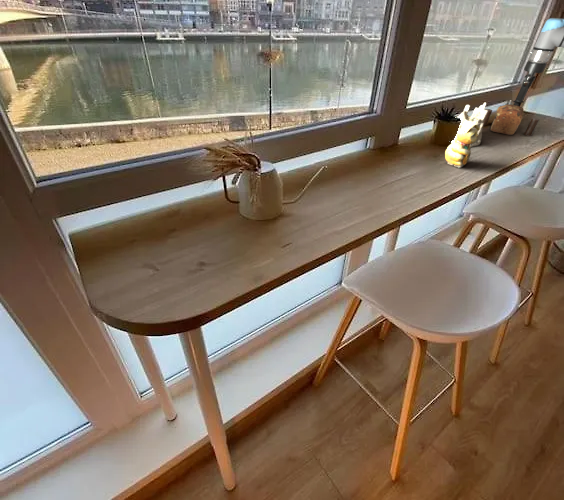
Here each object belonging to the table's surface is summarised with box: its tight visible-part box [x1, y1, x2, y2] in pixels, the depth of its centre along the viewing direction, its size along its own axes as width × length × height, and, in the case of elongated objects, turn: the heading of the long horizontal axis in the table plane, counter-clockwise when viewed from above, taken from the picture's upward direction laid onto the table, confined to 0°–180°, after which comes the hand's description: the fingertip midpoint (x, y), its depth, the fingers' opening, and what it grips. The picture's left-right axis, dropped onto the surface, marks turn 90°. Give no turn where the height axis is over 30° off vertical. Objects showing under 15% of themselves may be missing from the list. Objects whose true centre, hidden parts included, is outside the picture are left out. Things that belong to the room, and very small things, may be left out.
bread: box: [490, 103, 525, 136], centre depth 149 cm, size 19×11×10 cm, turn 147°
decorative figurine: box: [444, 121, 480, 169], centre depth 113 cm, size 10×8×15 cm
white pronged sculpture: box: [450, 102, 488, 148], centre depth 134 cm, size 16×16×15 cm
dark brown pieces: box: [483, 108, 540, 137], centre depth 148 cm, size 22×3×7 cm, turn 51°
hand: (511, 116), depth 157 cm, fingers closed
